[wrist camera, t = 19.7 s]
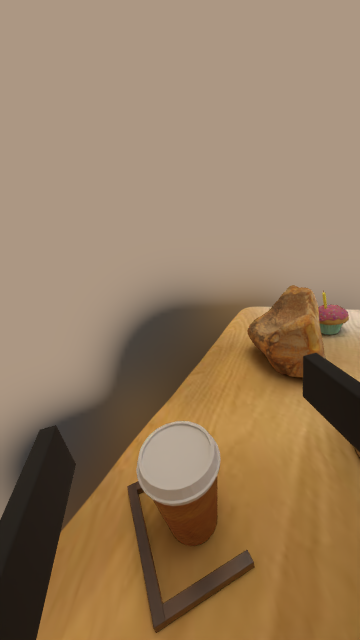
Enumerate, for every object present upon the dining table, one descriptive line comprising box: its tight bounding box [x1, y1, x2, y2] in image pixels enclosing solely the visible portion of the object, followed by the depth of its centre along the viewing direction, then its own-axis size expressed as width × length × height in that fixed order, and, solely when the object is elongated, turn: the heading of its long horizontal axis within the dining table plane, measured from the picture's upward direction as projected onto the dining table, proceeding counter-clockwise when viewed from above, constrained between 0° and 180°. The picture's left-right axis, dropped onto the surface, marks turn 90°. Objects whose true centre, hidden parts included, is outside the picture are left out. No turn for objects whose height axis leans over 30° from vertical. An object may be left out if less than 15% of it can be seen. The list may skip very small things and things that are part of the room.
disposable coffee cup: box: [137, 421, 220, 546], centre depth 30 cm, size 10×10×12 cm
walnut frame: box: [127, 481, 254, 633], centre depth 31 cm, size 11×15×1 cm
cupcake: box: [318, 291, 349, 335], centre depth 66 cm, size 9×8×12 cm
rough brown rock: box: [247, 285, 325, 377], centre depth 59 cm, size 23×17×15 cm
